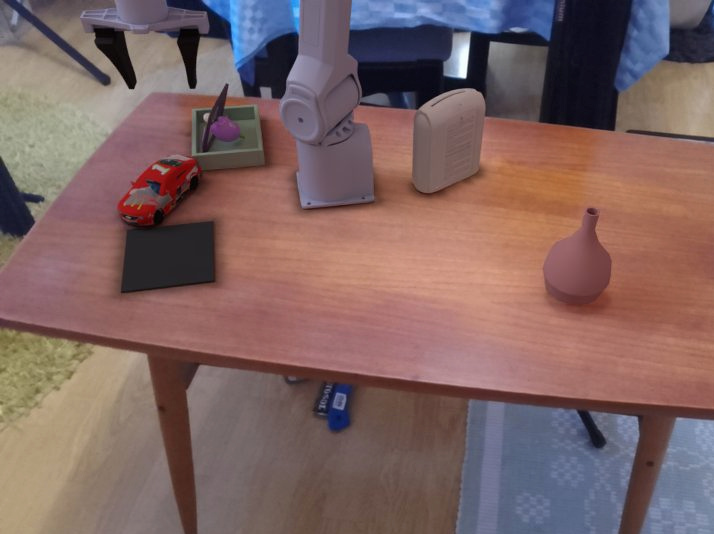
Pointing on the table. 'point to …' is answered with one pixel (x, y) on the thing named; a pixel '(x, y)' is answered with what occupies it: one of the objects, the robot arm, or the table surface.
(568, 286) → the brown bulb vase
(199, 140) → the sage tray
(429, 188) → the photo printer
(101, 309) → the table surface
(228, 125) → the purple finned figure
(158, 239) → the charcoal mat
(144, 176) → the race car
